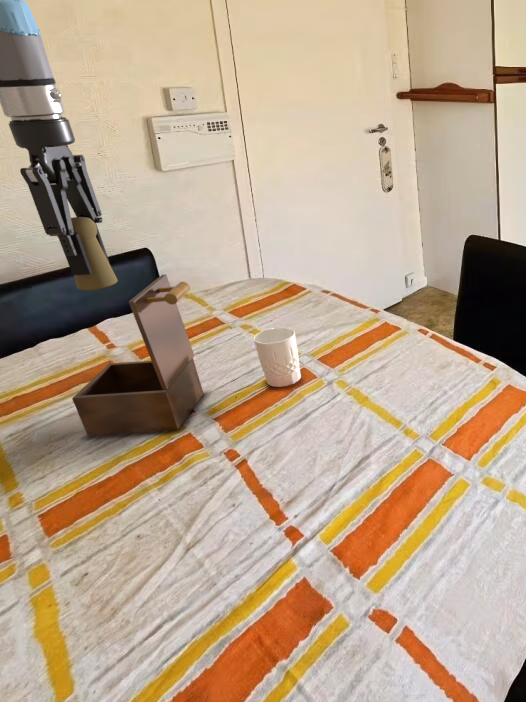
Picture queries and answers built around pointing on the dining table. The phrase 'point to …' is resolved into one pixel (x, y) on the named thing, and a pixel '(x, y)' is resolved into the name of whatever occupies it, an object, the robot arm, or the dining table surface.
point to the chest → (136, 399)
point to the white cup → (278, 356)
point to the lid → (163, 328)
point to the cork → (92, 257)
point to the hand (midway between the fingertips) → (91, 268)
